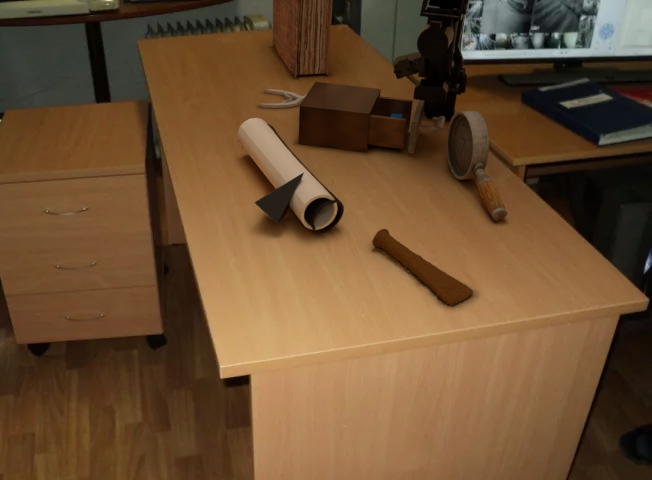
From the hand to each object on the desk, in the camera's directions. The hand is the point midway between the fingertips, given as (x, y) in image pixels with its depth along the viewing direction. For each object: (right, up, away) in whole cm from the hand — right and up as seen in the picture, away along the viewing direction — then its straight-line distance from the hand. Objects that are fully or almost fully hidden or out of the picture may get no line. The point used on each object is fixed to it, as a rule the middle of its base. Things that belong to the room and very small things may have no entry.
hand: (429, 118), depth 152 cm
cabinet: (-18, -2, +8) cm, 20 cm away
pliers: (-27, +9, +23) cm, 37 cm away
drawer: (-6, -3, +4) cm, 8 cm away
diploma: (-33, -17, -14) cm, 39 cm away
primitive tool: (-9, -32, -34) cm, 48 cm away
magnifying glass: (+6, -16, -12) cm, 21 cm away
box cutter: (-7, -2, +4) cm, 8 cm away
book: (-26, +26, +46) cm, 58 cm away
